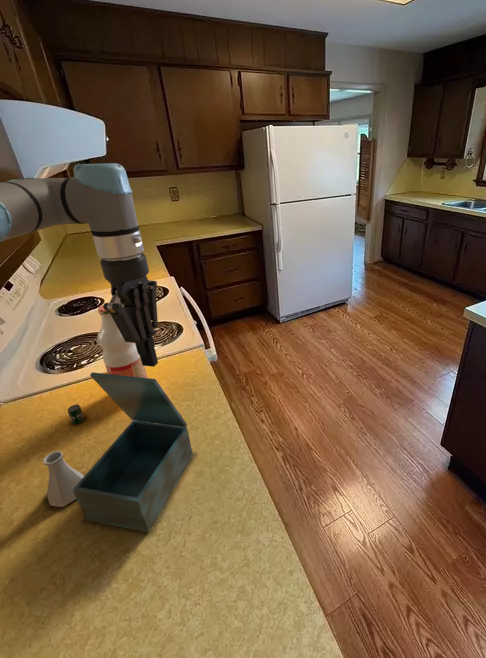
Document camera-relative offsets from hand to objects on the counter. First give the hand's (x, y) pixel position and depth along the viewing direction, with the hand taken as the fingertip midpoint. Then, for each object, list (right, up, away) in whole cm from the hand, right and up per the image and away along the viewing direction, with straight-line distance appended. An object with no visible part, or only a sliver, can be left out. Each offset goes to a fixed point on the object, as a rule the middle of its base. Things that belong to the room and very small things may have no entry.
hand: (150, 364), depth 69 cm
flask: (-17, -27, 0) cm, 32 cm away
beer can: (-27, -19, +18) cm, 38 cm away
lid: (-1, -8, -2) cm, 8 cm away
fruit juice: (-18, -14, +28) cm, 36 cm away
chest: (-1, -26, 0) cm, 26 cm away
